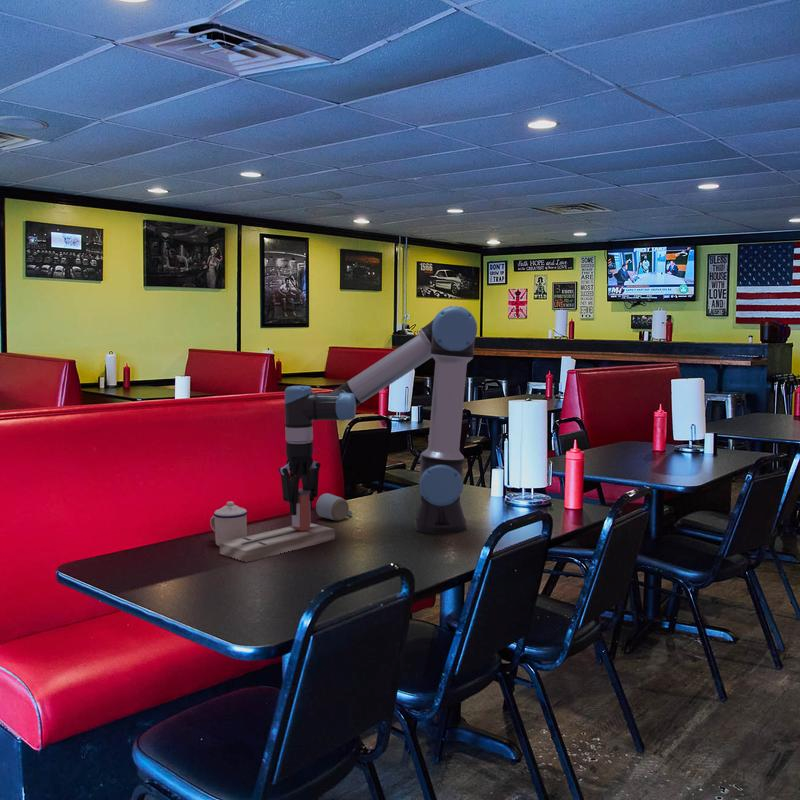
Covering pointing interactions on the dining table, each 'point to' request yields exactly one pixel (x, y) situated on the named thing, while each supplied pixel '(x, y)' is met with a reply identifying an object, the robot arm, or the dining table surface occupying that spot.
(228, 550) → the panel
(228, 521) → the teacup with lid
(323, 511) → the ceramic mug
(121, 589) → the dining table surface
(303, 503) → the fader tab
